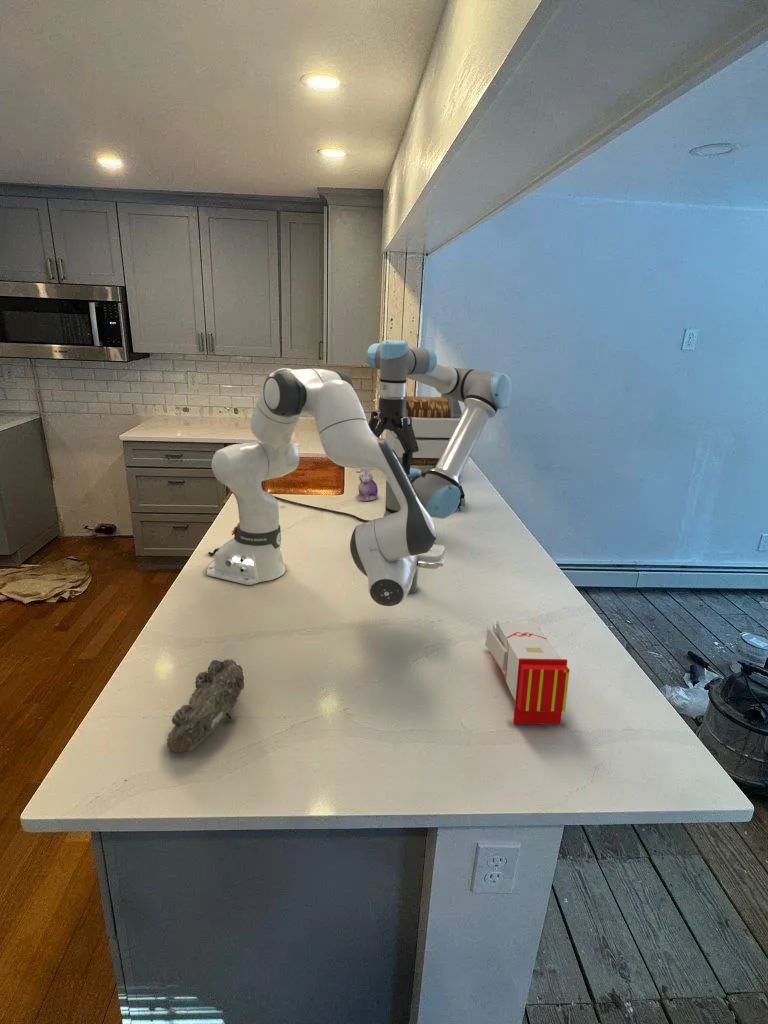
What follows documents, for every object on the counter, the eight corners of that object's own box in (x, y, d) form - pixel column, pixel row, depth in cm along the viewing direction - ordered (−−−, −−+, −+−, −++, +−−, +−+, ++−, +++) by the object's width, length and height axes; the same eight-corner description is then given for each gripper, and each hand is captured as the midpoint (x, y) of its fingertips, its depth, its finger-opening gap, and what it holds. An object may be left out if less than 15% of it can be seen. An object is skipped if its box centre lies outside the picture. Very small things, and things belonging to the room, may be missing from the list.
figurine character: (465, 515, 224) (460, 499, 237) (467, 498, 221) (462, 483, 234) (448, 515, 224) (444, 499, 237) (450, 498, 220) (445, 482, 234)
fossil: (192, 660, 117) (244, 628, 112) (224, 691, 120) (276, 661, 115) (142, 746, 98) (202, 712, 93) (182, 779, 101) (242, 748, 96)
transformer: (382, 463, 289) (386, 382, 275) (445, 464, 293) (451, 384, 279) (390, 482, 257) (394, 392, 243) (460, 483, 261) (468, 394, 247)
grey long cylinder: (397, 586, 162) (400, 524, 156) (412, 584, 164) (416, 522, 157) (404, 594, 158) (408, 530, 151) (419, 591, 160) (424, 528, 153)
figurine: (362, 503, 229) (363, 467, 224) (351, 495, 238) (352, 460, 232) (383, 500, 233) (384, 465, 228) (372, 493, 242) (373, 459, 237)
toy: (532, 606, 134) (578, 666, 105) (527, 658, 137) (571, 730, 108) (481, 605, 134) (513, 664, 105) (478, 657, 137) (508, 730, 107)
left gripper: (444, 554, 128) (448, 532, 141) (356, 545, 132) (368, 524, 144) (442, 579, 131) (446, 556, 143) (355, 569, 134) (367, 547, 147)
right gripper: (352, 392, 166) (350, 462, 173) (416, 404, 150) (411, 481, 157) (371, 390, 171) (368, 459, 178) (434, 402, 155) (429, 477, 162)
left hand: (406, 540), depth 144 cm, fingers open, 8 cm apart
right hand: (388, 469), depth 168 cm, fingers open, 13 cm apart
